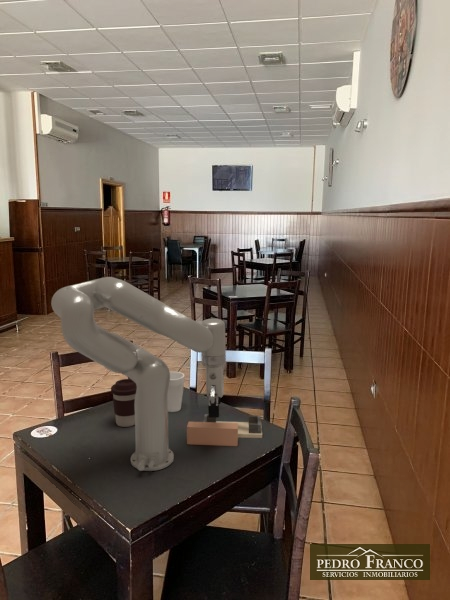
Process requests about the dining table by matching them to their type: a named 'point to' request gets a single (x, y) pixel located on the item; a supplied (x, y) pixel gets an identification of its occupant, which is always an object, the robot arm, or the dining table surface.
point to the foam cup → (175, 391)
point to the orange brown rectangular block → (212, 433)
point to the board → (244, 426)
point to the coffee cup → (124, 402)
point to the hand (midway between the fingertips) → (214, 410)
